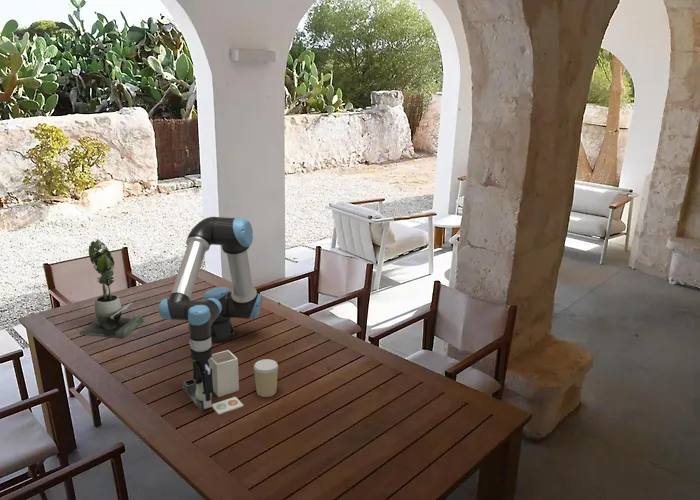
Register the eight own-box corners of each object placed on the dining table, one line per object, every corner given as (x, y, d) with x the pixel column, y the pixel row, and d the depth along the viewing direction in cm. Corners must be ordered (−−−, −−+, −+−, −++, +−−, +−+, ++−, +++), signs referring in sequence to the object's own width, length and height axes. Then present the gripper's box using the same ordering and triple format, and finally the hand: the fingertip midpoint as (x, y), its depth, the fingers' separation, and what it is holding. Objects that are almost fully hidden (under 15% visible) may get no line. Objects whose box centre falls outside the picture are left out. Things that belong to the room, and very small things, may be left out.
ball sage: (208, 393, 218) (207, 379, 216) (214, 401, 213) (214, 386, 212) (193, 398, 215) (192, 384, 213) (199, 406, 210) (198, 391, 208)
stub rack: (194, 384, 229) (193, 377, 228) (213, 406, 214) (212, 399, 213) (182, 388, 226) (181, 381, 225) (200, 411, 212) (200, 403, 211)
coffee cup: (282, 388, 228) (282, 361, 224) (271, 400, 220) (271, 372, 216) (261, 383, 231) (260, 357, 227) (250, 395, 222) (249, 367, 219)
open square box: (229, 380, 232) (228, 349, 228) (238, 390, 226) (237, 358, 221) (209, 387, 227) (207, 355, 223) (218, 397, 221) (216, 364, 216)
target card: (235, 397, 220) (235, 396, 220) (243, 406, 215) (243, 404, 215) (211, 406, 215) (210, 404, 215) (218, 414, 209) (218, 413, 209)
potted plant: (143, 321, 283) (135, 234, 270) (123, 338, 265) (114, 246, 252) (102, 318, 286) (92, 231, 273) (80, 334, 268) (68, 242, 255)
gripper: (181, 340, 213) (185, 394, 220) (201, 360, 198) (204, 418, 205) (200, 335, 217) (204, 388, 224) (221, 355, 202) (223, 412, 209)
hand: (204, 402), depth 215 cm, fingers closed on ball sage, 6 cm apart
